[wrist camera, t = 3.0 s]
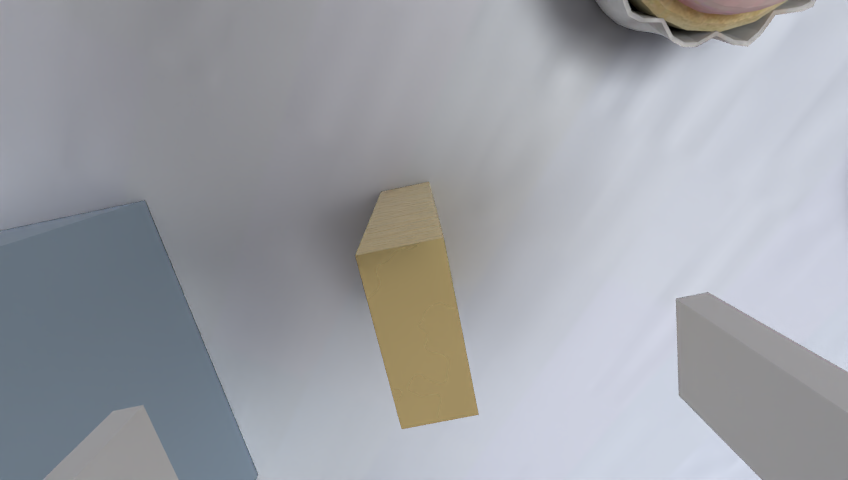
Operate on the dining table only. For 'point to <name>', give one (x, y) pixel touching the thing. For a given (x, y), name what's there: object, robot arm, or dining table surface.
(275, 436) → the dining table surface
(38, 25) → the dining table surface
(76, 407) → the coin box
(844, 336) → the dining table surface
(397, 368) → the rectangular block
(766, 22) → the cupcake
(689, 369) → the robot arm
